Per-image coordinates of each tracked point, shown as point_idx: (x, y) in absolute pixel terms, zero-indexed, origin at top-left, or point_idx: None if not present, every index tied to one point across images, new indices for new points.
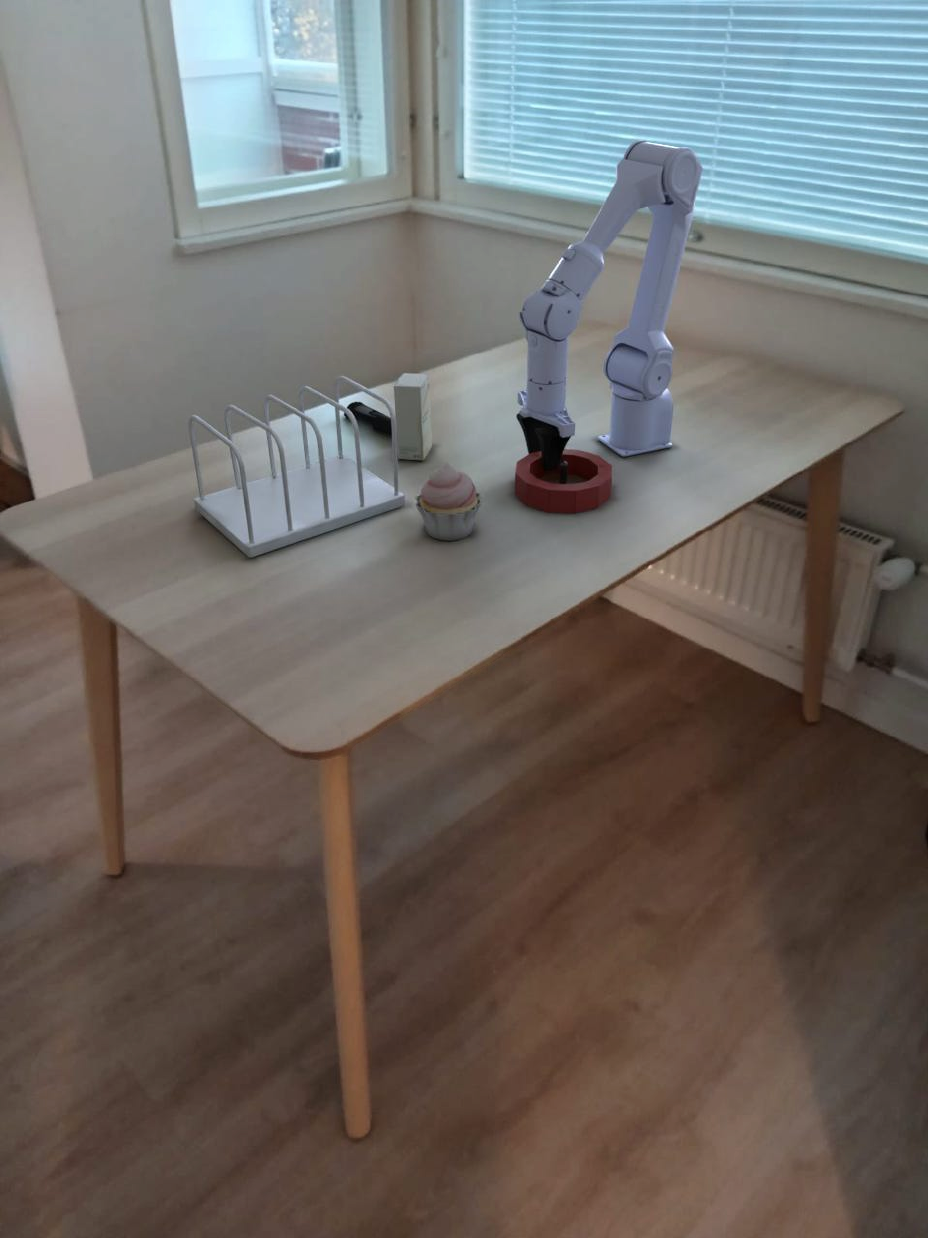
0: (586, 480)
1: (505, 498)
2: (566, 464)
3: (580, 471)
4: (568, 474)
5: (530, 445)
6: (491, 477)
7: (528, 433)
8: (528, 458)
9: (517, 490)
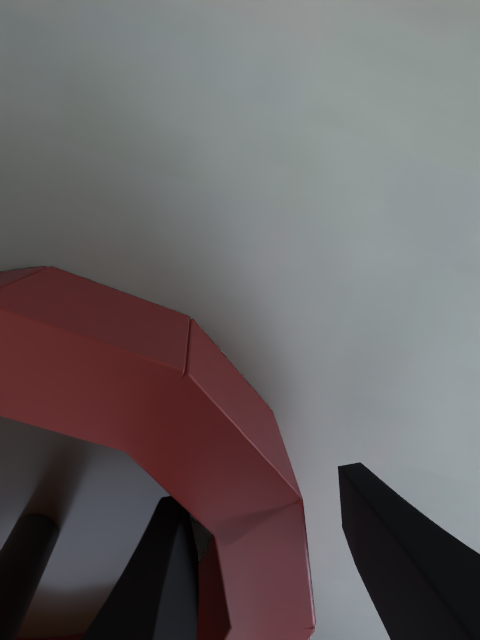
0: (65, 634)
1: (12, 195)
2: None
3: None
4: None
5: (382, 530)
6: (312, 200)
7: (441, 612)
8: (216, 463)
9: None
